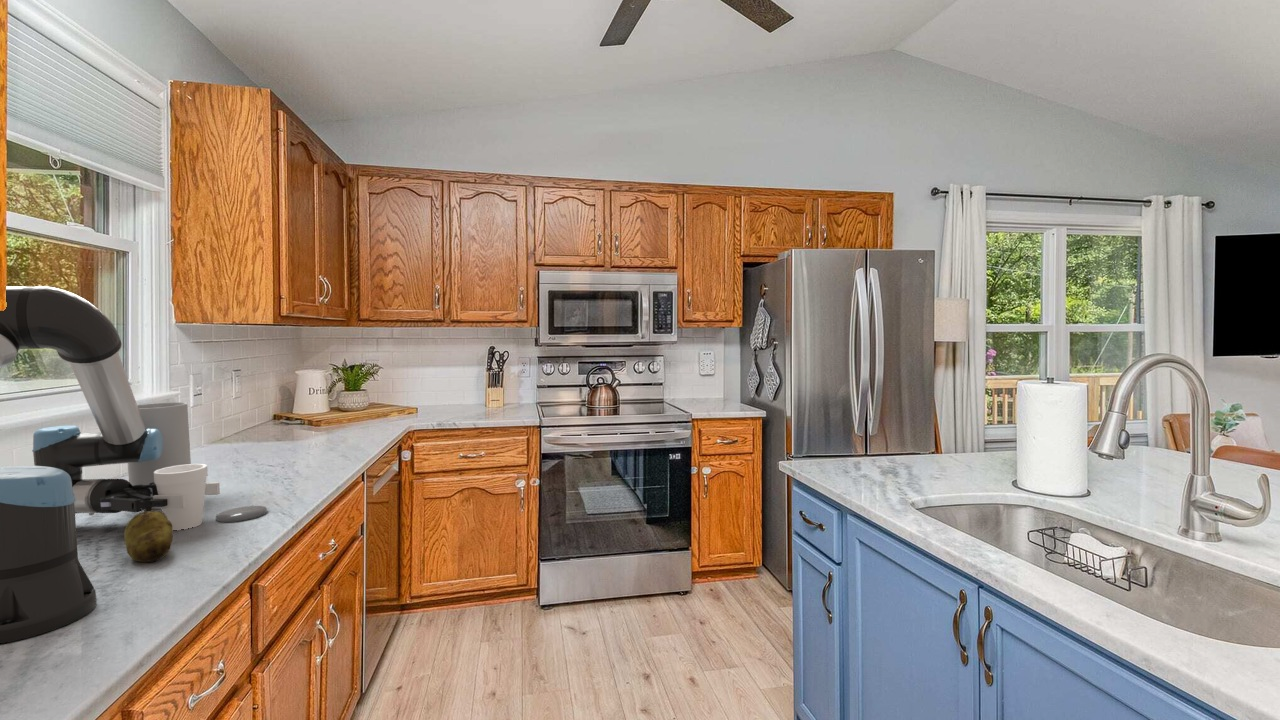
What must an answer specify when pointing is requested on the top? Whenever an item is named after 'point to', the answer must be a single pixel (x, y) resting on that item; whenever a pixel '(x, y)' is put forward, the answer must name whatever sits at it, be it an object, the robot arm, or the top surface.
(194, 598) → the top surface
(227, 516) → the coaster
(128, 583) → the top surface
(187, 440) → the cylinder vase
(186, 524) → the foam cup
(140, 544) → the potato
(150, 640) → the top surface
